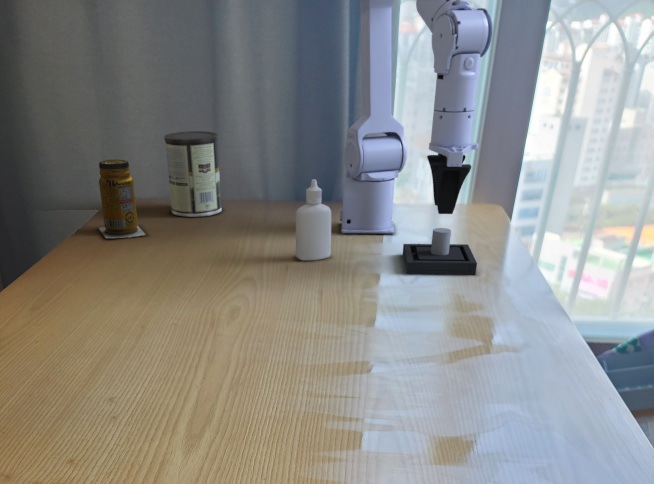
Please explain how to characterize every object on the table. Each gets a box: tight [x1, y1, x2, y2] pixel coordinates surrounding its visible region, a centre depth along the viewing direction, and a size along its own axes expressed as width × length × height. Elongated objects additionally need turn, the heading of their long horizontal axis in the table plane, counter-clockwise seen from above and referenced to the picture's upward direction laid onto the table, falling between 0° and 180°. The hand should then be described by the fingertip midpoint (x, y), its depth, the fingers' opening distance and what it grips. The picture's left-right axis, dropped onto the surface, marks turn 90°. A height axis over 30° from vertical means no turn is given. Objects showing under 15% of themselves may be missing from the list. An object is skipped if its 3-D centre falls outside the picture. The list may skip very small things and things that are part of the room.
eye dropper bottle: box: [295, 179, 332, 262], centre depth 120 cm, size 4×6×12 cm
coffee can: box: [163, 130, 223, 218], centre depth 148 cm, size 10×10×14 cm
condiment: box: [98, 158, 146, 239], centre depth 135 cm, size 7×8×12 cm
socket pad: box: [402, 243, 478, 276], centre depth 119 cm, size 10×10×2 cm
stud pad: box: [415, 227, 465, 261], centre depth 118 cm, size 7×7×5 cm
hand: (443, 209), depth 115 cm, fingers open, 5 cm apart
